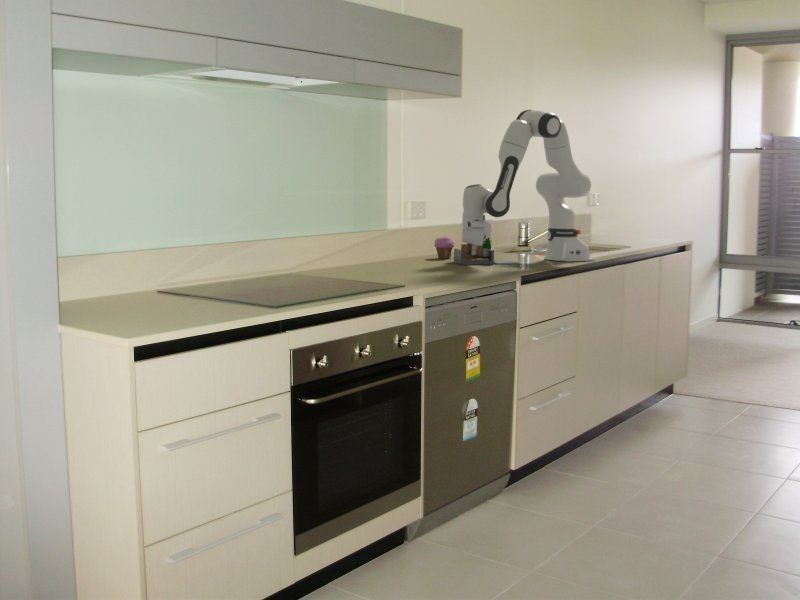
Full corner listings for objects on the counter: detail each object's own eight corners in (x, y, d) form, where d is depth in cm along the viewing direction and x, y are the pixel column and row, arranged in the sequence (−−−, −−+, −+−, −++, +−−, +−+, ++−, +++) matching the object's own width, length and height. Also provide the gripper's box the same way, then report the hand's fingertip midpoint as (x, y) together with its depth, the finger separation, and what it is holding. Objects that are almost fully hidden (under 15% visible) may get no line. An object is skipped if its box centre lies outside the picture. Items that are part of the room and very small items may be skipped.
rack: (485, 262, 385) (485, 248, 384) (493, 264, 374) (494, 250, 373) (453, 262, 382) (454, 248, 381) (461, 265, 371) (461, 250, 370)
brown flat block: (480, 262, 383) (481, 244, 381) (482, 263, 380) (482, 244, 379) (460, 262, 381) (461, 244, 379) (462, 263, 378) (462, 244, 377)
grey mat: (512, 262, 386) (512, 260, 386) (519, 264, 377) (519, 262, 377) (490, 262, 384) (490, 260, 384) (497, 264, 375) (497, 263, 375)
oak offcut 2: (486, 264, 378) (486, 258, 378) (488, 265, 375) (488, 259, 375) (475, 264, 377) (475, 258, 376) (477, 265, 374) (477, 259, 374)
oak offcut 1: (473, 264, 377) (473, 258, 376) (474, 265, 374) (475, 259, 373) (461, 264, 376) (462, 258, 376) (463, 265, 373) (463, 259, 373)
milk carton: (468, 259, 395) (469, 214, 392) (475, 257, 403) (476, 214, 400) (486, 260, 391) (487, 215, 388) (493, 259, 399) (495, 214, 396)
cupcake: (447, 259, 392) (447, 237, 391) (430, 258, 397) (430, 236, 395) (457, 258, 399) (457, 236, 398) (440, 257, 404) (441, 235, 403)
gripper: (458, 220, 387) (458, 252, 389) (472, 223, 367) (471, 256, 369) (472, 221, 389) (471, 252, 391) (486, 223, 369) (486, 256, 371)
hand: (471, 254), depth 380 cm, fingers closed on brown flat block, 2 cm apart
